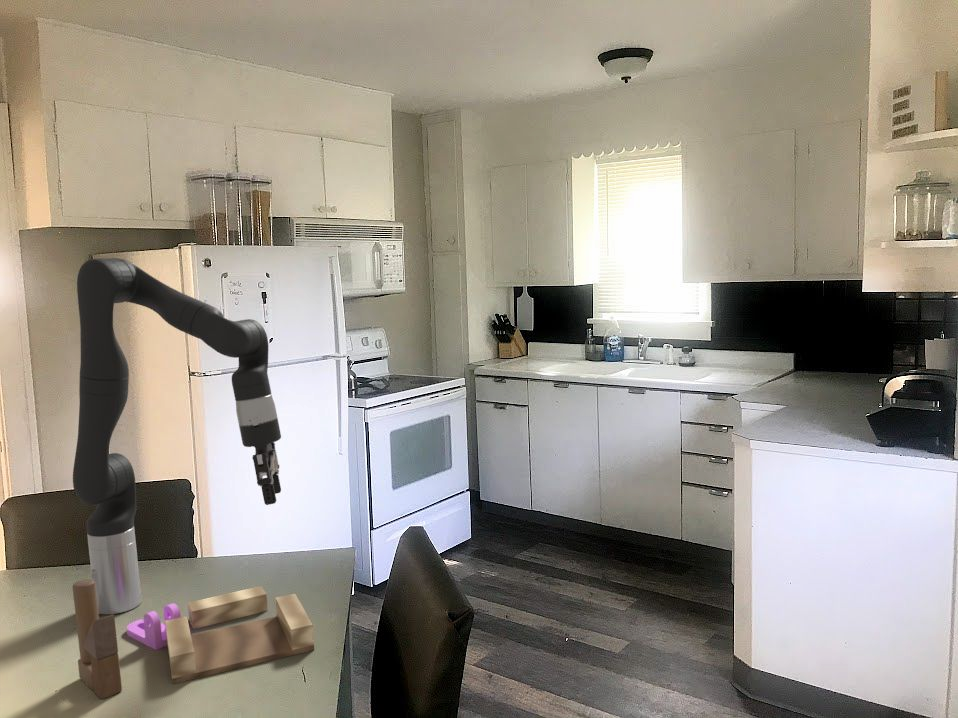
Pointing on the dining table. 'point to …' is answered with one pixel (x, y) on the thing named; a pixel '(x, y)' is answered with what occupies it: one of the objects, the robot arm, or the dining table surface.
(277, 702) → the dining table surface
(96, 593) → the robot arm
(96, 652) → the wooden block
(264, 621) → the brown wooden cradle
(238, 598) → the oak plank
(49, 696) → the dining table surface
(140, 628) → the bracket
